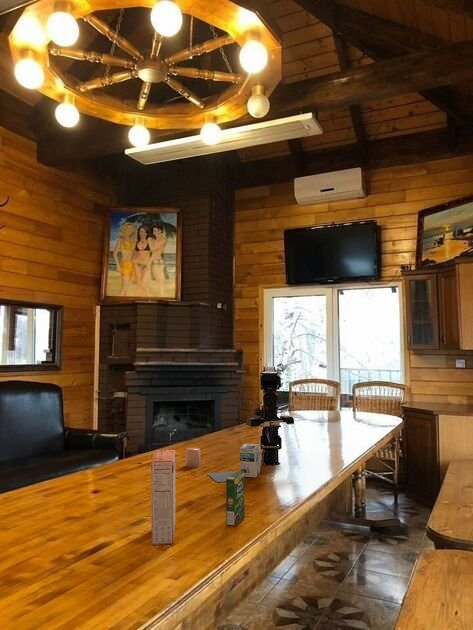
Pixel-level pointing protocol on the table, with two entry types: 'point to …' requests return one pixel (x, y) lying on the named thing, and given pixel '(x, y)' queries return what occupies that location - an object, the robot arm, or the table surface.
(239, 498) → the coffee box
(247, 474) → the light bulb box
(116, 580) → the table surface
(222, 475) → the mat
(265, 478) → the table surface
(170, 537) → the cracker box
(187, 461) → the pink rounded capsule
